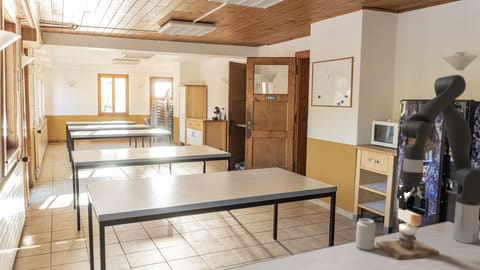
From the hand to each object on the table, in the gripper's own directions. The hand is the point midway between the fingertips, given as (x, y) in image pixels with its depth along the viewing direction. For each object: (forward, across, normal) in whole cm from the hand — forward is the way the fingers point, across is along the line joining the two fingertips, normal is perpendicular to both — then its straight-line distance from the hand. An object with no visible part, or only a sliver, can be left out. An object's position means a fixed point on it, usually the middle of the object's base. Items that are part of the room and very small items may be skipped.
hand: (410, 208), depth 156 cm
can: (+18, +14, -10) cm, 25 cm away
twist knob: (+10, 0, 0) cm, 10 cm away
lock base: (+18, 0, 0) cm, 18 cm away
